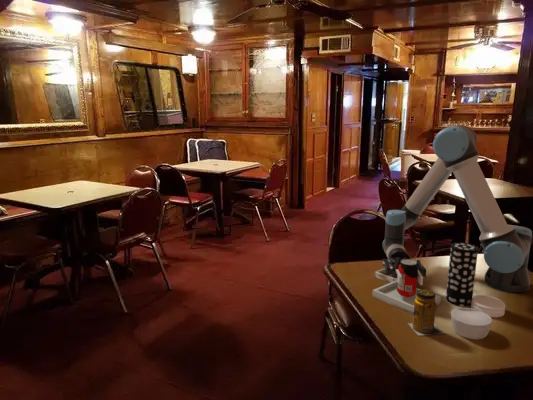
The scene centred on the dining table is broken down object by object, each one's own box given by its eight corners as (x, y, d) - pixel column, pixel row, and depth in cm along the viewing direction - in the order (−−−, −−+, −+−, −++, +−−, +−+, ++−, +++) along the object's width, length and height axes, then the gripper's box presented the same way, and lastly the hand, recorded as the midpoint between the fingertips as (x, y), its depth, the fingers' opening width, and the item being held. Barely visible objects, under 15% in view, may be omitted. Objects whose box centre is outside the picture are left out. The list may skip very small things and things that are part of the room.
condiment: (407, 323, 129) (410, 288, 126) (433, 322, 130) (436, 286, 127) (417, 336, 122) (421, 298, 119) (445, 334, 123) (449, 297, 120)
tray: (440, 303, 142) (441, 297, 141) (417, 316, 134) (418, 309, 133) (395, 286, 156) (396, 280, 155) (372, 296, 147) (372, 290, 147)
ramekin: (481, 323, 129) (483, 308, 128) (497, 343, 118) (499, 326, 117) (444, 321, 130) (446, 306, 129) (456, 340, 120) (458, 324, 118)
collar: (410, 278, 163) (410, 273, 163) (394, 284, 157) (395, 279, 157) (388, 270, 171) (389, 266, 170) (373, 276, 165) (373, 271, 164)
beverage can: (417, 298, 141) (420, 265, 138) (398, 297, 142) (400, 264, 139) (413, 290, 147) (416, 259, 144) (395, 289, 148) (397, 258, 145)
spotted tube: (474, 307, 139) (481, 251, 135) (448, 305, 141) (454, 249, 137) (468, 296, 147) (474, 243, 143) (443, 294, 149) (448, 241, 145)
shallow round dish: (505, 308, 139) (506, 298, 138) (503, 321, 131) (505, 311, 130) (472, 301, 144) (473, 292, 144) (468, 313, 136) (470, 303, 135)
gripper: (422, 266, 160) (439, 292, 137) (372, 264, 162) (380, 289, 140) (424, 248, 158) (441, 271, 136) (373, 246, 160) (382, 269, 138)
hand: (410, 280), depth 138 cm, fingers closed on beverage can, 6 cm apart
